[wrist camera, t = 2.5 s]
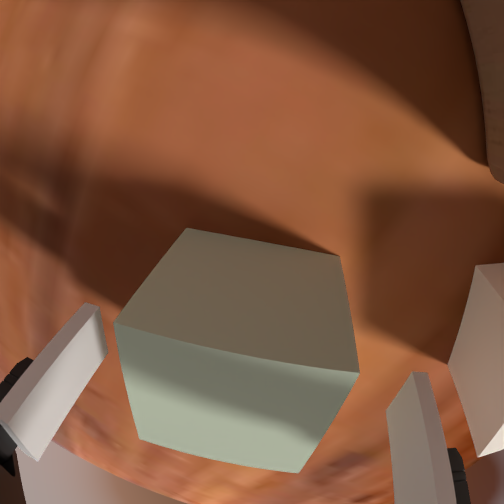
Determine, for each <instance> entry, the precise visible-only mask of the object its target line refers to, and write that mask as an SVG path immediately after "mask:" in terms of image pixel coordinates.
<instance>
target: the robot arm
mask: <svg viewBox="0 0 504 504" xmlns="http://www.w3.org/2000/svg"><path fill="white" fill-rule="evenodd" d="M107 354H108V348H107V344H106V339H105V334H104V329H103V323H102V318H101V312H100V307H99V306H95V305H92V304H89V303H86V302H85V303H84V304H83V305H82V306H81V307H80V308H79V309H78V311H77V312H76V313H75V314H74V315H73V316H72V317H71V318H70V319H69V321H68V322H67V323H66V324H65V325H64V326H63V327H62V328H61V330H60V331H59V332H58V333H57V334H56V335H55V336H54V338H53V339H52V340H51V341H50V342H49V343H48V344H47V346H46V347H45V348H44V349H43V350H42V352H41V353H40V354H39V355H38V356H37V357H36V359H35V360H32V359H30V358H28V357H27V358H25V359H24V360H22V361H20V362H19V363H17V364H16V365H15V367H14V368H13V369H12V370H11V371H10V374H8V375H7V376H6V377H5V379H4V381H2V382H1V383H0V504H26V501H25V496H24V492H23V488H22V482H21V477H20V472H19V466H18V460H17V454H16V451H15V449H16V447H17V446H18V447H19V448H20V449H21V450H22V452H23V453H25V454H26V455H28V456H29V457H31V458H33V459H34V460H36V461H39V459H40V457H41V456H42V454H43V453H44V451H45V449H46V447H47V446H48V444H49V443H50V441H51V439H52V438H53V436H54V435H55V433H56V431H57V430H58V428H59V427H60V425H61V423H62V422H63V420H64V419H65V417H66V415H67V414H68V412H69V411H70V409H71V408H72V406H73V405H74V403H75V401H76V400H77V398H78V397H79V395H80V394H81V392H82V391H83V389H84V388H85V386H86V385H87V383H88V382H89V380H90V379H91V377H92V376H93V374H94V373H95V371H96V370H97V368H98V367H99V365H100V364H101V362H102V361H103V359H104V358H105V356H106V355H107ZM386 416H387V423H388V432H389V440H390V449H391V460H392V471H393V484H394V499H395V504H471V502H470V497H469V490H468V485H467V481H466V474H465V472H464V470H465V469H464V465H463V460H462V457H461V456H460V454H459V452H458V451H457V449H456V448H448V449H447V446H446V442H445V437H444V433H443V429H442V425H441V420H440V416H439V413H438V409H437V405H436V401H435V397H434V394H433V390H432V387H431V383H430V380H429V376H428V373H425V372H414V371H412V373H411V374H410V376H409V377H408V379H407V380H406V382H405V383H404V385H403V386H402V388H401V389H400V391H399V392H398V394H397V395H396V397H395V398H394V400H393V401H392V403H391V404H390V405H389V407H388V408H387V410H386Z"/></svg>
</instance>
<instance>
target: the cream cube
mask: <svg viewBox="0 0 504 504" xmlns="http://www.w3.org/2000/svg"><path fill="white" fill-rule="evenodd" d="M447 365H448V368H449V370H450V373H451V376H452V378H453V381H454V384H455V387H456V389H457V392H458V395H459V398H460V401H461V404H462V407H463V410H464V413H465V416H466V419H467V422H468V426H469V429H470V432H471V436H472V439H473V443H474V446H475V450H476V453H477V457H481V456H484V455H487V454H491V453H494V452H496V451H500V450H502V449H504V263H497V264H485V265H476V266H475V270H474V275H473V279H472V284H471V288H470V292H469V296H468V300H467V304H466V308H465V311H464V315H463V318H462V322H461V325H460V328H459V332H458V335H457V338H456V341H455V344H454V347H453V350H452V353H451V356H450V359H449V361H448V364H447Z"/></svg>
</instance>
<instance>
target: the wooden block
mask: <svg viewBox="0 0 504 504" xmlns="http://www.w3.org/2000/svg"><path fill="white" fill-rule="evenodd" d="M460 2H461V5H462V8H463V11H464V15H465V18H466V22H467V26H468V29H469V33H470V37H471V42H472V46H473V50H474V55H475V60H476V65H477V70H478V76H479V82H480V89H481V95H482V103H483V111H484V121H485V133H486V148H487V161H488V164H489V168H490V171H491V174H492V175H493V177H494V178H495V179H496V180H497V181H499V182H501V183H503V184H504V0H460Z"/></svg>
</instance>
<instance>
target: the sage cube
mask: <svg viewBox="0 0 504 504" xmlns="http://www.w3.org/2000/svg"><path fill="white" fill-rule="evenodd" d="M113 324H114V330H115V336H116V341H117V347H118V352H119V357H120V362H121V367H122V372H123V376H124V381H125V385H126V390H127V394H128V398H129V402H130V406H131V410H132V414H133V418H134V421H135V425H136V428H137V432H138V435H139V439H141V440H144V441H147V442H150V443H154V444H157V445H160V446H163V447H167V448H170V449H174V450H177V451H181V452H185V453H188V454H192V455H196V456H200V457H205V458H209V459H213V460H218V461H223V462H227V463H232V464H238V465H243V466H249V467H255V468H261V469H268V470H275V471H283V472H292V473H299V472H300V470H301V469H302V468H303V466H304V465H305V463H306V462H307V460H308V459H309V457H310V456H311V454H312V453H313V451H314V450H315V448H316V447H317V445H318V444H319V442H320V441H321V439H322V437H323V436H324V434H325V433H326V431H327V430H328V428H329V426H330V425H331V423H332V421H333V420H334V418H335V416H336V415H337V413H338V411H339V410H340V408H341V406H342V404H343V403H344V401H345V399H346V398H347V396H348V394H349V392H350V390H351V389H352V387H353V385H354V383H355V381H356V379H357V378H358V376H359V374H360V370H359V363H358V356H357V349H356V343H355V337H354V330H353V324H352V318H351V313H350V307H349V301H348V296H347V291H346V285H345V280H344V275H343V270H342V265H341V260H340V256H336V255H330V254H325V253H320V252H315V251H310V250H304V249H299V248H294V247H289V246H283V245H278V244H273V243H267V242H262V241H257V240H251V239H246V238H240V237H235V236H229V235H224V234H219V233H213V232H208V231H202V230H196V229H191V228H186V229H185V230H184V231H183V233H182V234H181V235H180V236H179V237H178V239H177V240H176V241H175V242H174V244H173V245H172V246H171V247H170V249H169V250H168V251H167V252H166V254H165V255H164V256H163V257H162V259H161V260H160V261H159V263H158V264H157V265H156V266H155V268H154V269H153V270H152V271H151V273H150V274H149V275H148V277H147V278H146V279H145V281H144V282H143V283H142V284H141V286H140V287H139V288H138V290H137V291H136V292H135V294H134V295H133V296H132V298H131V299H130V300H129V302H128V303H127V304H126V306H125V307H124V308H123V310H122V311H121V312H120V314H119V315H118V317H117V318H116V319H115V321H114V322H113Z"/></svg>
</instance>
